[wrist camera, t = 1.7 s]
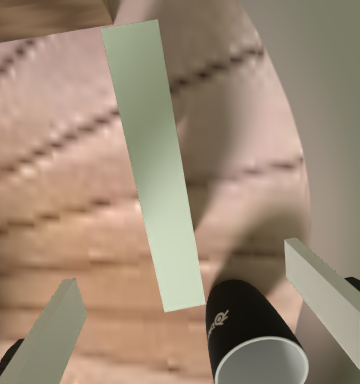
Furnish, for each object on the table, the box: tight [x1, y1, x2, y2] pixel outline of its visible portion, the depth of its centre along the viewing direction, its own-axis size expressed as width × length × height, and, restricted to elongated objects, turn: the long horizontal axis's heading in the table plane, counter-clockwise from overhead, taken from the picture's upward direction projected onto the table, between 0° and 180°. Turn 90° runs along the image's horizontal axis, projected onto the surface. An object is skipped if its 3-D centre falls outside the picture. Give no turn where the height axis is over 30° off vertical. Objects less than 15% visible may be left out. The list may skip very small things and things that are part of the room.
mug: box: [206, 280, 309, 384], centre depth 28 cm, size 12×9×10 cm
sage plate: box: [101, 19, 206, 312], centre depth 21 cm, size 3×20×12 cm, turn 10°
